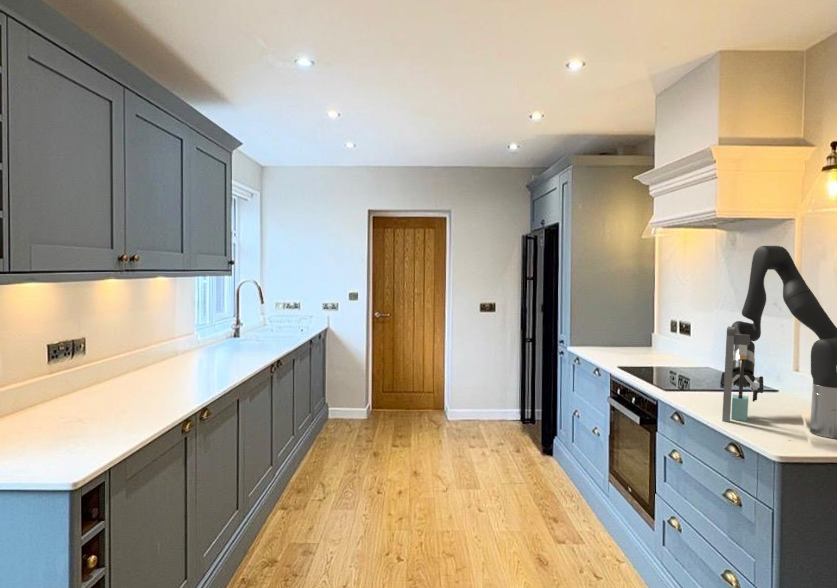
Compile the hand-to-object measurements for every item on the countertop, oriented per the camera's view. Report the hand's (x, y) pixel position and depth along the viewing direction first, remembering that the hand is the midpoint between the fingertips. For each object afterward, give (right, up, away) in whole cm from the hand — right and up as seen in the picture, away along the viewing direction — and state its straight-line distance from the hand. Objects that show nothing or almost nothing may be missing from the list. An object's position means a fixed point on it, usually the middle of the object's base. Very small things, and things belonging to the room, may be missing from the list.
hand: (740, 398), depth 212 cm
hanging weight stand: (-5, -8, -5) cm, 11 cm away
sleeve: (-1, -7, -1) cm, 7 cm away
